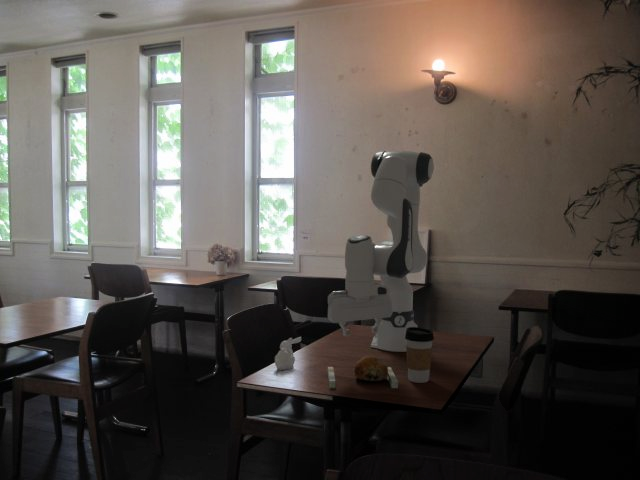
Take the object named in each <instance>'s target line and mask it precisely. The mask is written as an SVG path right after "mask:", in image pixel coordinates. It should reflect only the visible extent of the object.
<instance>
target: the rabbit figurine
mask: <svg viewBox="0 0 640 480" xmlns="http://www.w3.org/2000/svg"><path fill="white" fill-rule="evenodd" d="M301 341H302V336H299V337H296V338H294V339H293V337H289V338H288V339H287V340H283V341H281V343H280V345H279V349H280V350H279V351H277V354H276V355H275V356H274V364H275V366H276V370H280V371H285V370H286V371H287V370H291V369H292V368H294V367H295V365H294V364H295V361H296V358H295V355H294V351H293V349H292V347H293V346H292V345H293V344H298V343H300V342H301Z"/></svg>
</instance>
